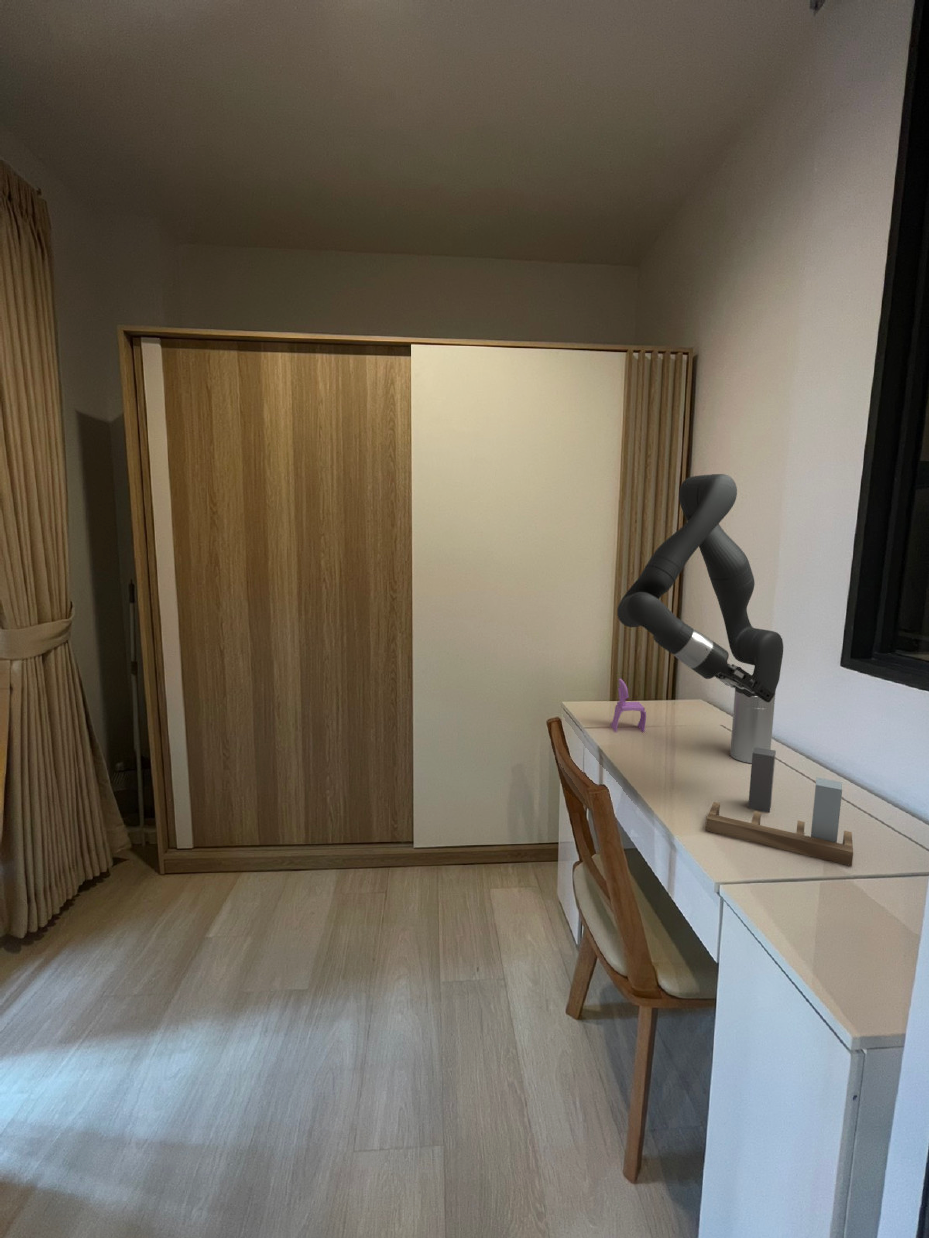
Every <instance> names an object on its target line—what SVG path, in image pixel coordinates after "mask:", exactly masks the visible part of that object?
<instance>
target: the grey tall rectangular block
mask: <svg viewBox="0 0 929 1238" xmlns="http://www.w3.org/2000/svg"><path fill="white" fill-rule="evenodd" d="M776 752H777V751H776V750H773V749H771V750H769V749H763V748H757V747H754V750H753V753H752V763H751V765H750V780H749V791H748V793H749V795H748V804H747V808H748V809H751V810H754V811H758V812H764V813H770V812H771V809H772V799H773V798H772V796H773V786H774V777H775V776H774V775H775V764H776Z"/></svg>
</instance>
